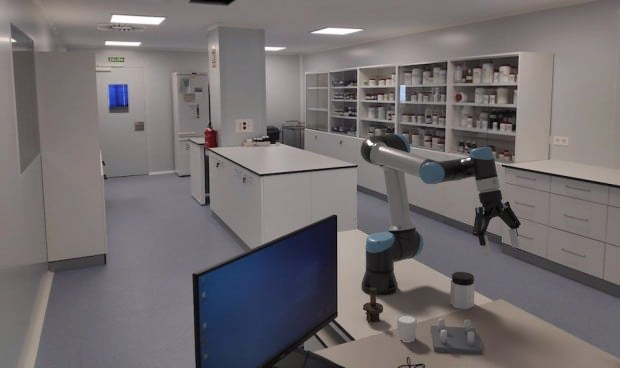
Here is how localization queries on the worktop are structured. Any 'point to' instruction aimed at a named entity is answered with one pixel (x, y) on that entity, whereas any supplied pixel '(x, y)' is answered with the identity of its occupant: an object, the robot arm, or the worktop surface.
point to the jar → (462, 290)
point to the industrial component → (373, 307)
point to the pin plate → (455, 338)
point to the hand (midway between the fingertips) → (501, 251)
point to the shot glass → (406, 327)
